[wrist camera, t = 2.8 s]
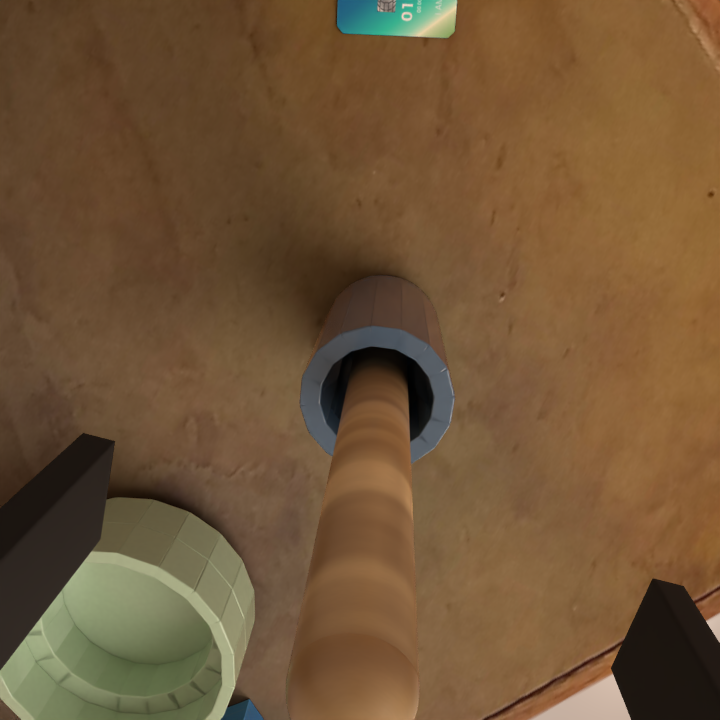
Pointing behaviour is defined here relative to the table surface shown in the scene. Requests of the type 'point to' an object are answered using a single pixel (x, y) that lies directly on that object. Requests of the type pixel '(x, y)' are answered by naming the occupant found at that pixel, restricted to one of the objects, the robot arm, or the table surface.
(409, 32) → the credit card
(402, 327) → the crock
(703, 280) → the table surface
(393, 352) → the stirring stick
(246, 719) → the perfume bottle
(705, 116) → the table surface
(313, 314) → the table surface
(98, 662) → the bowl
